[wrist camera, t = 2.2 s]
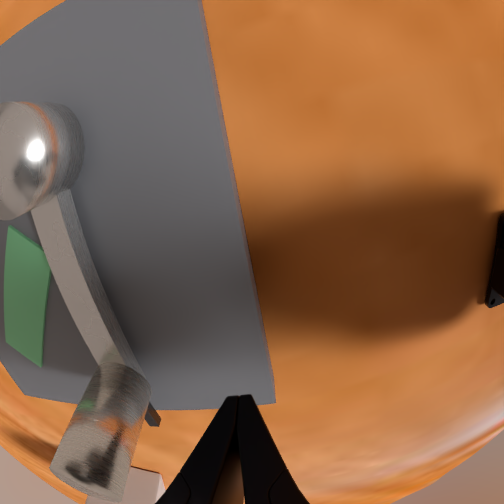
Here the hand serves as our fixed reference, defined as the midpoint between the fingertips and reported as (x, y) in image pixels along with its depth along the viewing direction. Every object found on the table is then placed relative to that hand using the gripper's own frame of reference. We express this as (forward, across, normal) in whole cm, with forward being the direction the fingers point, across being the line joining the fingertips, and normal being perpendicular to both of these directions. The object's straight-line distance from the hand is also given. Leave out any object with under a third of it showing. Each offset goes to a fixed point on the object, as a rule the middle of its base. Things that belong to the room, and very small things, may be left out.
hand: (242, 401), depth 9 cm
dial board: (+6, +9, -6) cm, 12 cm away
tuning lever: (+3, +6, -3) cm, 8 cm away
